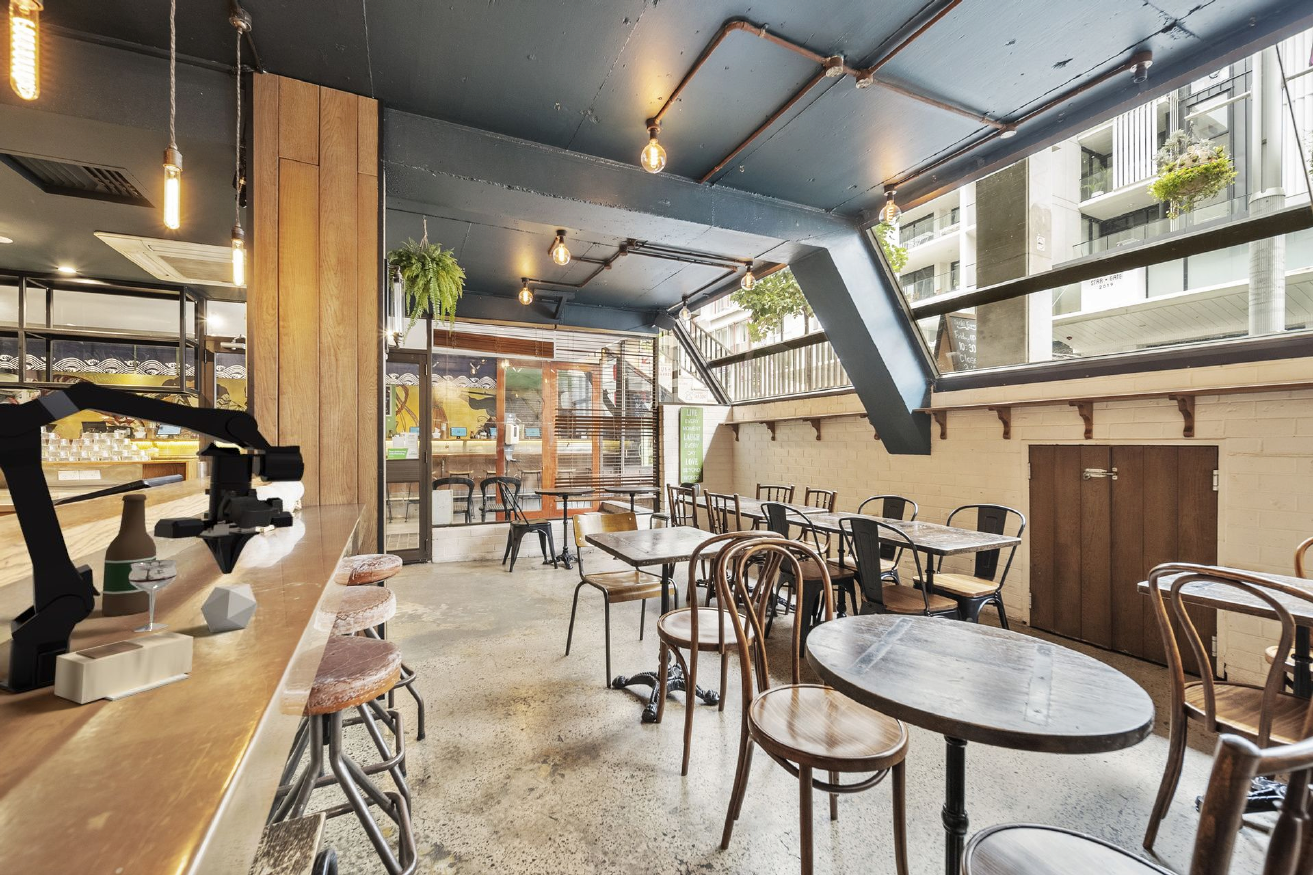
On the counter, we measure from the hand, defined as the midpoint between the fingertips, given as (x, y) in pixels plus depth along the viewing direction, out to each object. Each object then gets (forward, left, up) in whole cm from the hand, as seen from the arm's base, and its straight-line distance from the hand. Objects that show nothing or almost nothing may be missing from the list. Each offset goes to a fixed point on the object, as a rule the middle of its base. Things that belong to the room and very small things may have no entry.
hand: (227, 573), depth 93 cm
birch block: (+6, -10, -9) cm, 15 cm away
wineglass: (-22, 0, -12) cm, 25 cm away
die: (-9, +6, -12) cm, 16 cm away
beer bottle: (-39, +4, -12) cm, 41 cm away
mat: (+6, -15, -12) cm, 20 cm away
